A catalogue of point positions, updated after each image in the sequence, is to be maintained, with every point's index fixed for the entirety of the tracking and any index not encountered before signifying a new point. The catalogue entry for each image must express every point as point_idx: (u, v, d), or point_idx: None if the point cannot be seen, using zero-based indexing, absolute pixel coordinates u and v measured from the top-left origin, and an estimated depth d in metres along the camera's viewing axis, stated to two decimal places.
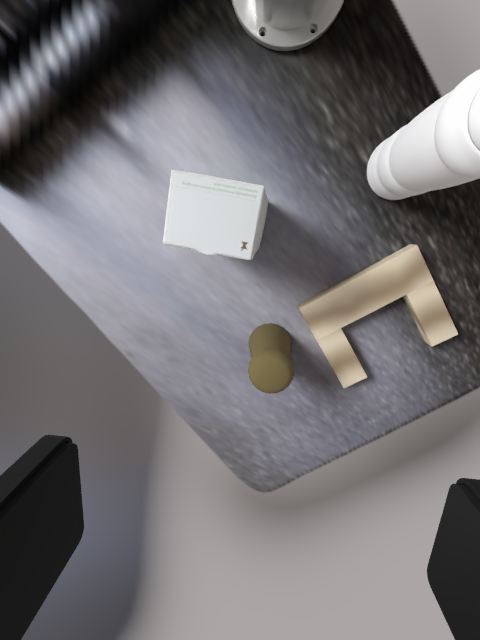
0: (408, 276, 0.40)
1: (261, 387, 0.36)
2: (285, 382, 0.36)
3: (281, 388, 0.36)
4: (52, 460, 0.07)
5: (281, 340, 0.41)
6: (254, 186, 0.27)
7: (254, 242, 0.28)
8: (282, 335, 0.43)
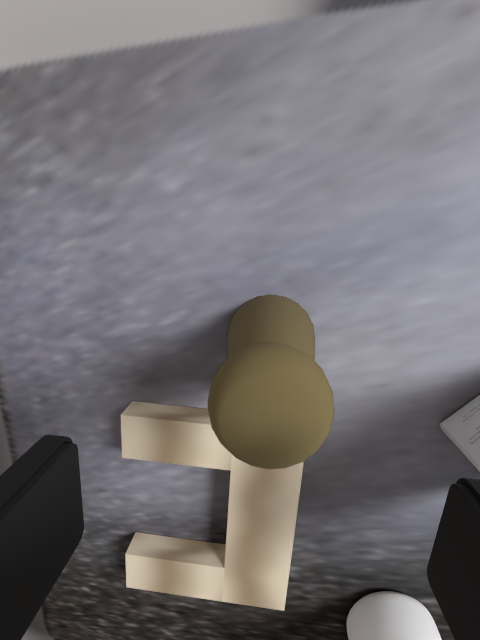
0: (248, 582, 0.26)
1: (255, 382, 0.12)
2: (229, 442, 0.13)
3: (220, 423, 0.12)
4: (52, 460, 0.07)
5: None
6: None
7: None
8: None
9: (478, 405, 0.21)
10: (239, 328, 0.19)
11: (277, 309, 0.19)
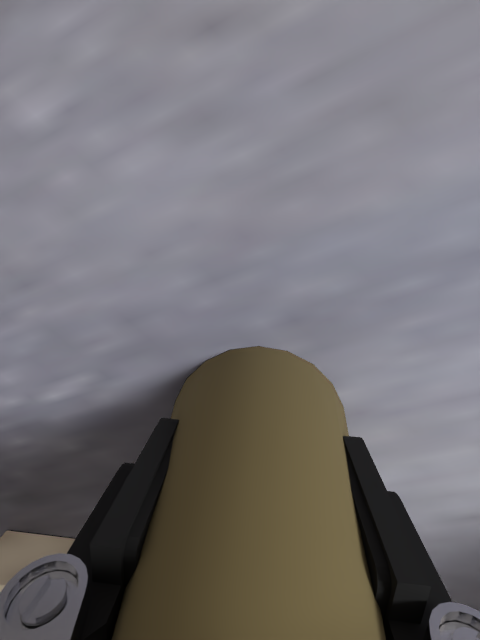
0: None
1: None
2: None
3: None
4: None
5: None
6: None
7: None
8: None
9: None
10: (174, 458, 0.07)
11: (271, 398, 0.08)
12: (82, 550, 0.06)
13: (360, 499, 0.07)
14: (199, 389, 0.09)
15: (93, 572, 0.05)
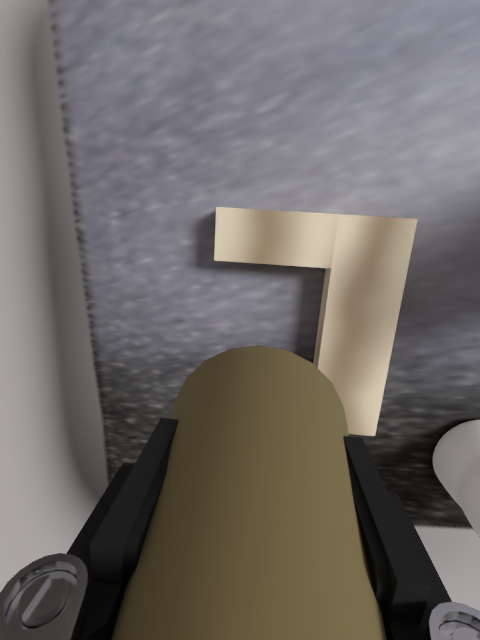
0: None
1: None
2: None
3: None
4: None
5: None
6: None
7: None
8: None
9: None
10: (174, 457, 0.07)
11: (271, 396, 0.08)
12: (82, 550, 0.06)
13: (360, 499, 0.07)
14: (199, 388, 0.09)
15: (93, 572, 0.05)
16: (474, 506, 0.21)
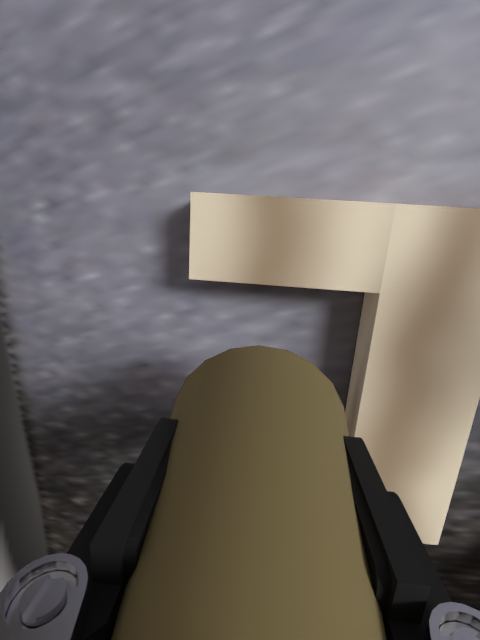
0: None
1: None
2: None
3: None
4: None
5: None
6: None
7: None
8: None
9: None
10: (174, 458, 0.07)
11: (271, 397, 0.08)
12: (82, 550, 0.06)
13: (360, 499, 0.07)
14: (199, 388, 0.09)
15: (93, 572, 0.05)
16: None
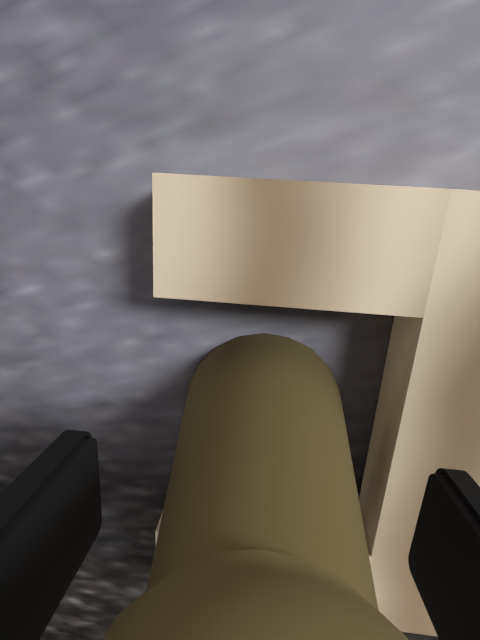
0: None
1: None
2: None
3: None
4: (74, 454, 0.07)
5: None
6: None
7: None
8: None
9: None
10: (195, 422, 0.09)
11: (275, 373, 0.10)
12: None
13: None
14: (213, 369, 0.11)
15: None
16: None
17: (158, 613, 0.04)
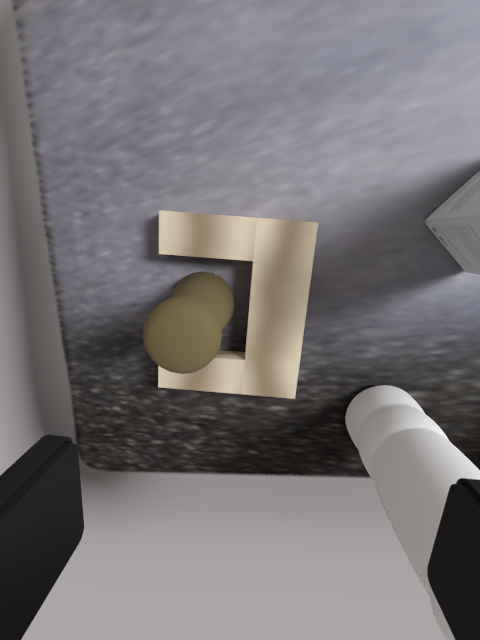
0: (265, 373, 0.30)
1: (167, 316, 0.20)
2: (155, 355, 0.21)
3: (148, 343, 0.21)
4: (52, 460, 0.07)
5: None
6: None
7: None
8: None
9: (455, 194, 0.26)
10: (173, 293, 0.26)
11: (202, 280, 0.27)
12: None
13: None
14: (181, 282, 0.29)
15: None
16: (363, 448, 0.27)
17: None
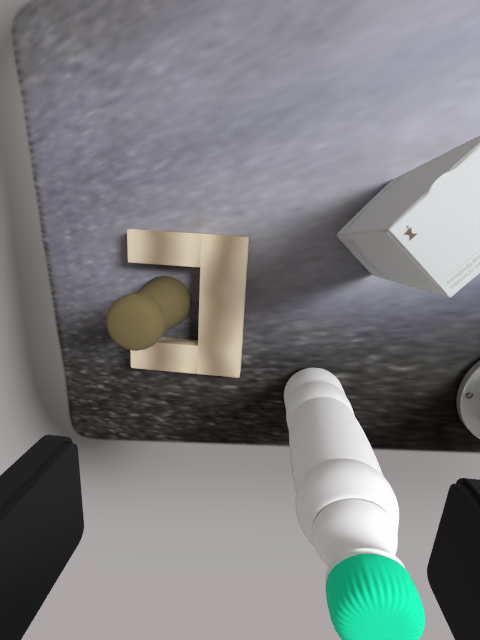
0: (214, 356, 0.38)
1: (121, 308, 0.28)
2: (113, 336, 0.29)
3: (109, 327, 0.28)
4: (52, 460, 0.07)
5: None
6: (458, 287, 0.21)
7: (402, 247, 0.20)
8: None
9: (356, 214, 0.34)
10: None
11: (160, 282, 0.35)
12: None
13: None
14: (146, 284, 0.37)
15: None
16: (286, 415, 0.35)
17: None
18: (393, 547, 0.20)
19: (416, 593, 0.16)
